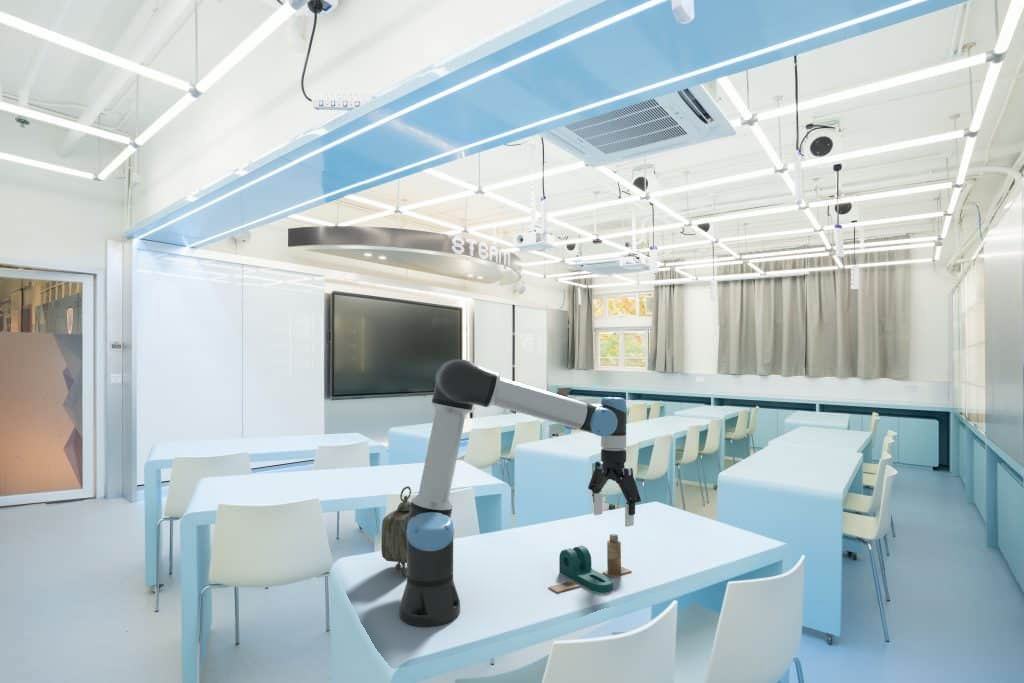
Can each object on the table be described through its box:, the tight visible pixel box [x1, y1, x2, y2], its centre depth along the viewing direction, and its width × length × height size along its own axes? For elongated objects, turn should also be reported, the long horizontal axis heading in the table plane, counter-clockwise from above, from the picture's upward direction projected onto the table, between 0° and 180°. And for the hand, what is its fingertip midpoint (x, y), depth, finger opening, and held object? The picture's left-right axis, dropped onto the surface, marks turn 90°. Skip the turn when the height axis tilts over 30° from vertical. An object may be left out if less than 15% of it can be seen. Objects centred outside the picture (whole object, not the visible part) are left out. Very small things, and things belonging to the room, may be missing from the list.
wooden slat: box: [548, 566, 633, 594], centre depth 156 cm, size 28×4×1 cm, turn 122°
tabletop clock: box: [380, 485, 412, 578], centre depth 165 cm, size 14×9×25 cm, turn 166°
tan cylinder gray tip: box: [606, 533, 622, 576], centre depth 161 cm, size 4×4×11 cm
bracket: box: [558, 545, 614, 594], centre depth 156 cm, size 18×7×8 cm, turn 32°
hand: (613, 520), depth 162 cm, fingers open, 13 cm apart
